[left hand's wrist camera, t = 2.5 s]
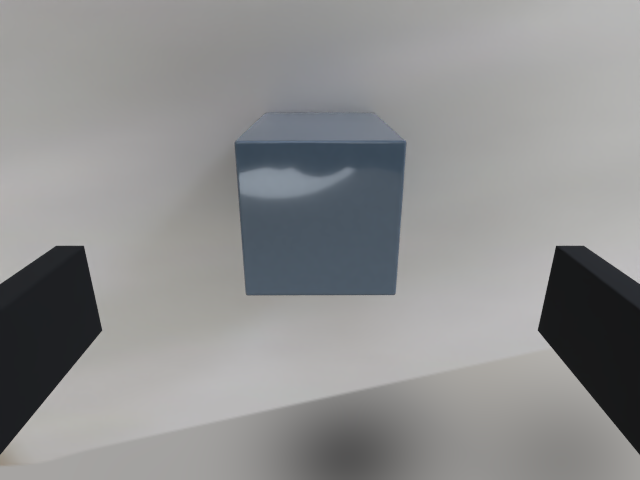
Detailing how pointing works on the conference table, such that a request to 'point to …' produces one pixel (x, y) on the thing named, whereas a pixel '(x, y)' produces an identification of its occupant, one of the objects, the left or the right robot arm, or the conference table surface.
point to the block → (320, 204)
